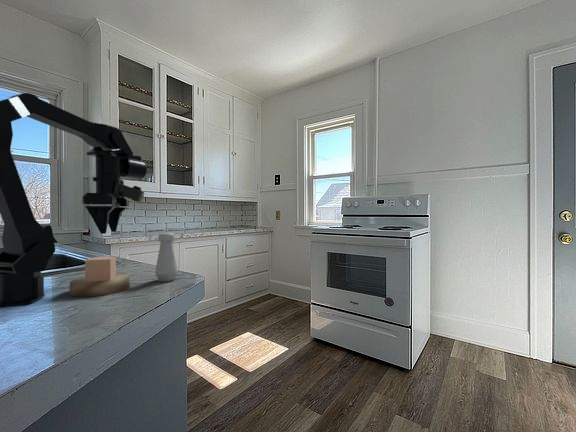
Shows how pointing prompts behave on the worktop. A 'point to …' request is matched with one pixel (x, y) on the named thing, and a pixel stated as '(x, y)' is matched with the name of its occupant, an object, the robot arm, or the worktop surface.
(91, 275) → the terracotta block
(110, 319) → the worktop surface
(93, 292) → the walnut base
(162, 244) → the salt shaker
